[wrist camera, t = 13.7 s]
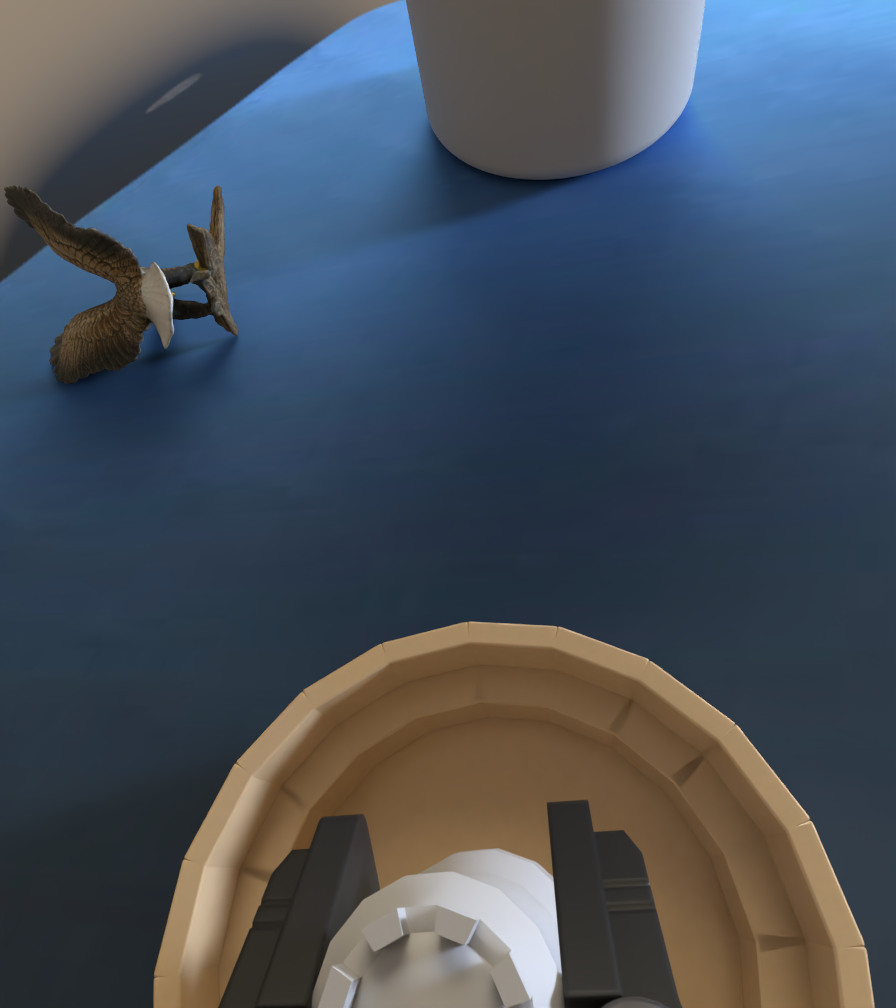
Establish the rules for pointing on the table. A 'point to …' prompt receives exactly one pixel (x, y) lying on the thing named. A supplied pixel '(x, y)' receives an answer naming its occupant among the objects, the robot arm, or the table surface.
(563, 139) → the cylinder vase
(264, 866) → the bowl
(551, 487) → the table surface
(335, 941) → the rook chess piece
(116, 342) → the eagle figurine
